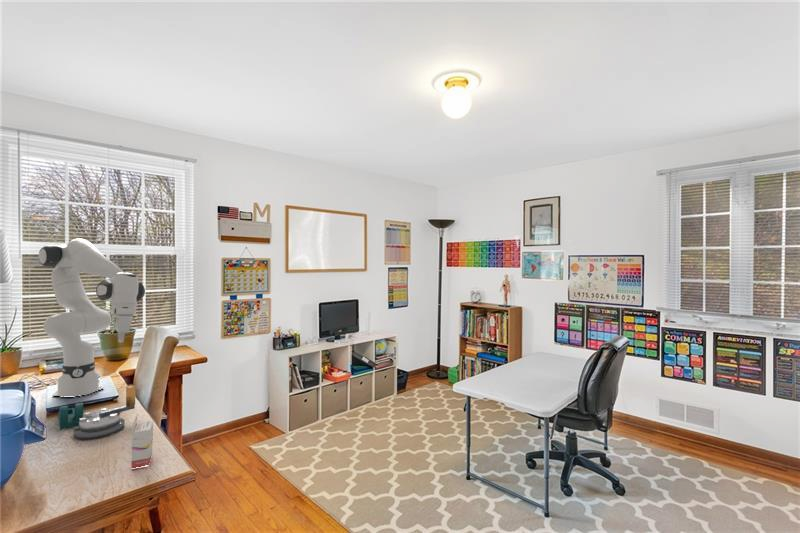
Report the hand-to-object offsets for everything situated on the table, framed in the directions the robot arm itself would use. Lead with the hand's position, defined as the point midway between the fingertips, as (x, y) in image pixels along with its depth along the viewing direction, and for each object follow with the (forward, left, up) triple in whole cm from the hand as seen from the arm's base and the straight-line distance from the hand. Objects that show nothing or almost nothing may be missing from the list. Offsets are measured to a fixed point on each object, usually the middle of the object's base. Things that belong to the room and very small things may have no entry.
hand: (120, 342), depth 164 cm
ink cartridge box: (+57, +6, -29) cm, 64 cm away
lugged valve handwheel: (+21, -3, -26) cm, 34 cm away
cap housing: (+22, -6, -29) cm, 37 cm away
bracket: (+4, -16, -29) cm, 33 cm away
